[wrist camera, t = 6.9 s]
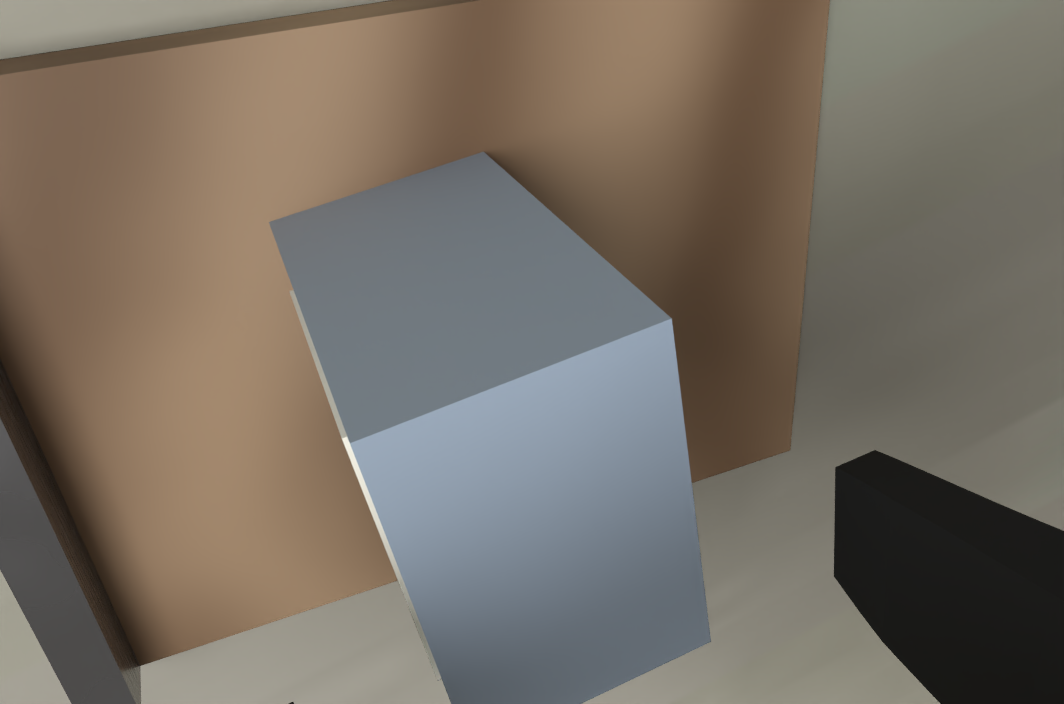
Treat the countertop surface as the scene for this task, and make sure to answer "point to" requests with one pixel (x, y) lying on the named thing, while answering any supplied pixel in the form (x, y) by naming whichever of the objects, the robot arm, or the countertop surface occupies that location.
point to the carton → (505, 431)
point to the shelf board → (342, 170)
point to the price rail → (57, 571)
